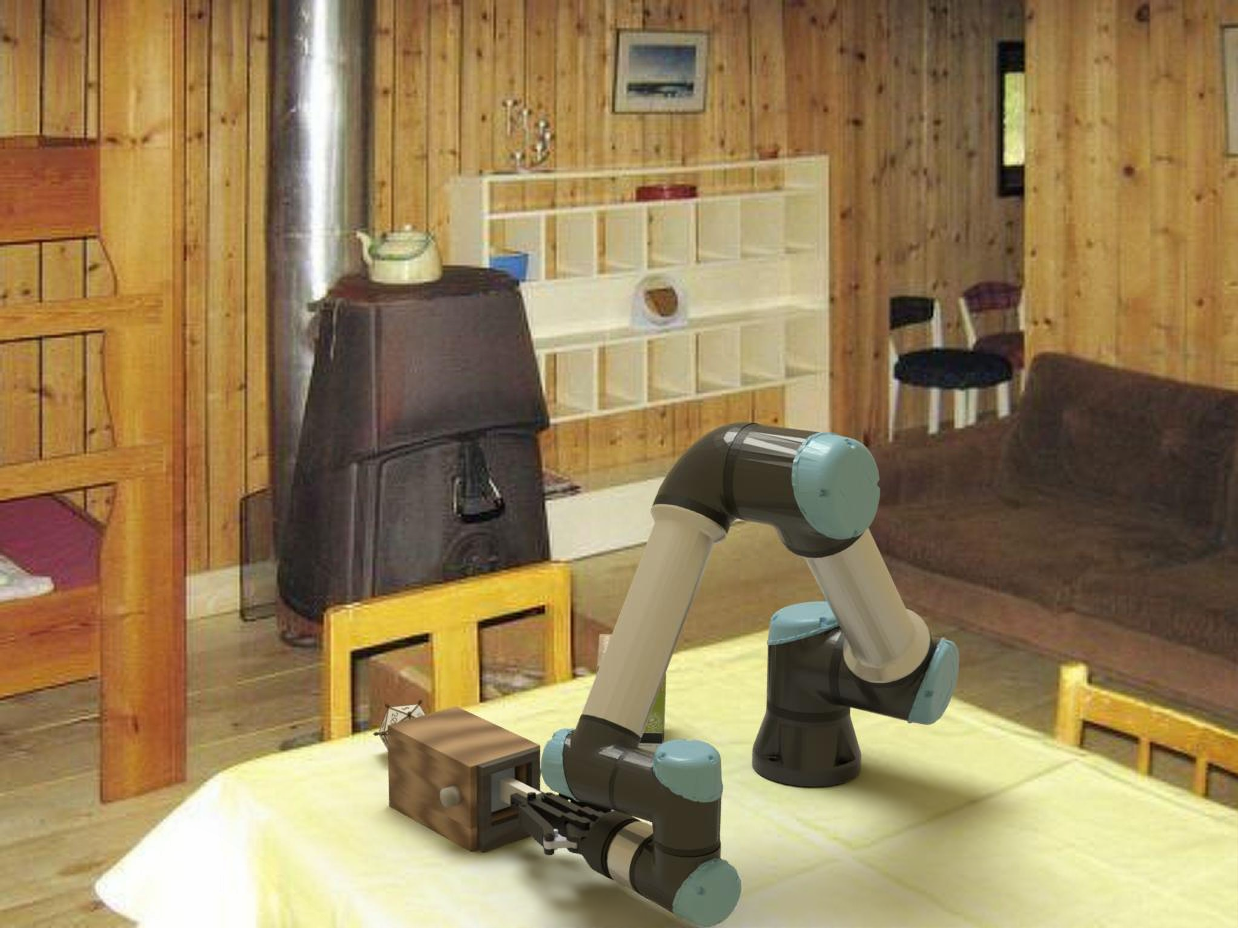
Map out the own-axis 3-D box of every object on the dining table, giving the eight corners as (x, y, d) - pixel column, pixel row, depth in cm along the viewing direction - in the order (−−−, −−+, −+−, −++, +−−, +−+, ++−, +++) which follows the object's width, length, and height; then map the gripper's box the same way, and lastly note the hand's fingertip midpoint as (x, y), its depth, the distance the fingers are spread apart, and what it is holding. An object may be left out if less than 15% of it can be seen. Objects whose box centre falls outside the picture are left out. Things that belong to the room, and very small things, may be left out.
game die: (415, 786, 248) (423, 748, 241) (360, 761, 249) (367, 722, 242) (442, 738, 254) (451, 699, 247) (389, 713, 255) (396, 674, 248)
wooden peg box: (555, 826, 227) (556, 744, 224) (466, 858, 218) (465, 772, 215) (466, 781, 241) (465, 703, 238) (378, 808, 232) (377, 728, 229)
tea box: (665, 767, 246) (667, 666, 243) (593, 766, 247) (593, 665, 243) (664, 727, 261) (665, 632, 258) (595, 726, 261) (596, 631, 258)
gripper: (585, 897, 201) (462, 829, 218) (669, 865, 209) (545, 802, 227) (585, 836, 199) (462, 772, 217) (671, 806, 208) (545, 747, 225)
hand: (504, 787), depth 222 cm, fingers closed
